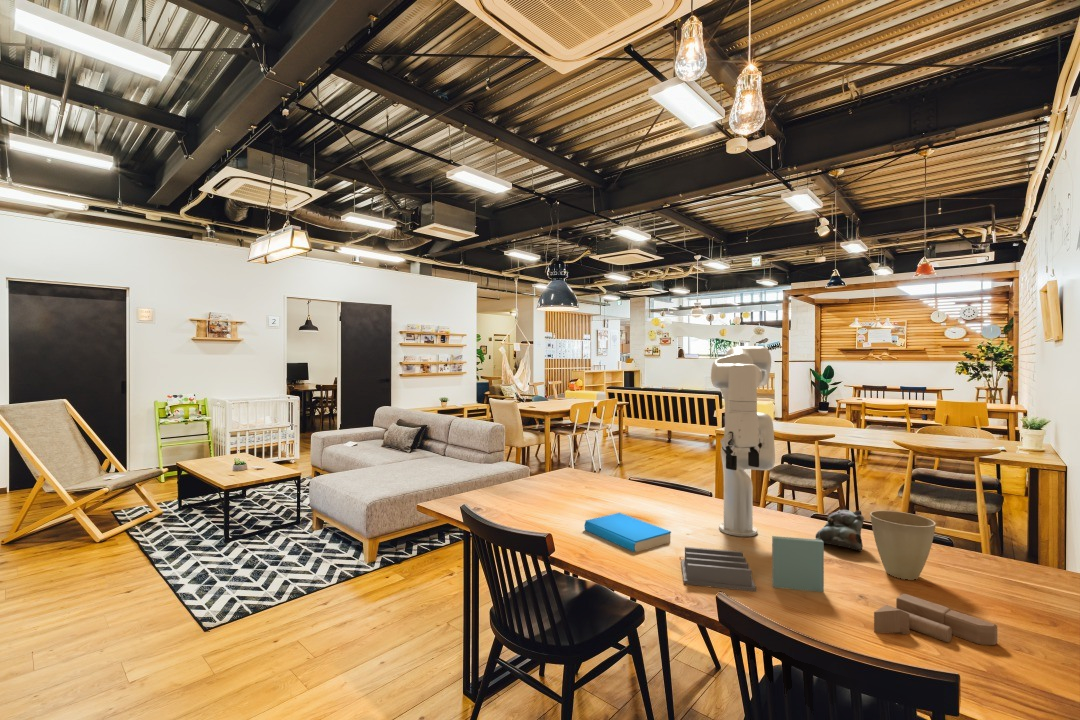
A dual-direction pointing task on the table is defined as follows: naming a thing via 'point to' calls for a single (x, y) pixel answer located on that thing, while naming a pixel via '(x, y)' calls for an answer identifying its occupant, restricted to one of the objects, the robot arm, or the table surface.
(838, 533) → the grey lumpy mound
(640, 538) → the book
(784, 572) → the thin teal board
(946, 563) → the table surface
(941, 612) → the wooden block set
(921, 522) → the plant pot
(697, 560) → the dish rack
